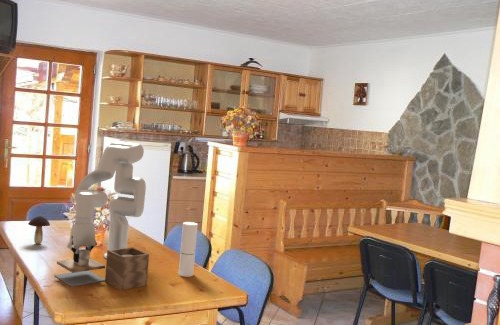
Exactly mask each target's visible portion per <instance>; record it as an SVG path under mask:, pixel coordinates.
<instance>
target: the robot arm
mask: <svg viewBox="0 0 500 325" xmlns="http://www.w3.org/2000/svg"><path fill="white" fill-rule="evenodd" d="M144 152H145V151H144V147H143V145H142V144H139V143H136V142H135V143H134V142H125V141H113V142H111V143H110V144H109V145H107V146H106V147H105V149H104V150H103V153H102V155H101V157H100V159H99V162H98V163H97V166H96V168H95V169H94V170H93V171H91V172H89V173H88V174H87V175H85V176H84V177H83V178H82V179H81V180H80V182H79V183H78V186H77V187H76V190H75V192H74V193H75V194H74V196H73V197H74V202H75V205H76V206H75V221H74V223H72V225H71V229H70V234H69V242H68V243H67V245H66V248H68V249H69V250H70V251H72V253H73V258H72V259H73V260H74V262H76V263H78V262H79V254H78V251H79V248H83V247H84V249H86V250H88V251H90V252H89V256H90V253H91V252H92V250H93V249H94V247H96V246H98V242H97V240H96V229H95V228H96V227H95V223H94V221H96V220H97V218H96V217H95V216H94V215H95V209H96V208H97V209H98V208H102V207H105V206H106V205H107V202H108V195H107V193H105V192H104V191H103V190H102V191H101V190H96V189H90V187H92V186H93V185H95V184H99V183H101V182H106V181H109V180H111V179H112V178H113V177H114V191H115V192H116V193H117V194H119V196H113V197H112V198H111V199H110V200H109V203H108V210H109V227H108V228H109V229H108V239H107V240H108V241H107V250H115V249H123V248H128V236H129V220H128V219H127V217H131V218H140V217H142V215H143V212H144V210H145V209H144V208H145V200H146V190H147V186H146V181H145V180H144V178H142V177H138V176H133V172H134V171H133V170H134V166H133V164H135V163H137V162H140V161H141V160H142V158H143V157H144V154H145V153H144ZM120 195H125V196H120ZM126 196H127V197H126ZM128 196H133V197H128ZM103 257H104V258H105V259H107V252H105V253H104V254H103Z"/></svg>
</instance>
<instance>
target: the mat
mask: <svg viewBox="0 0 500 325" xmlns="http://www.w3.org/2000/svg"><path fill="white" fill-rule="evenodd" d="M54 277H55V278H57V279H58V280H59V281H62V282H63V283H65V284H66V285H67V286H70V287H71V288H72V287H77V286H83V285H90V284H96V283H102V282H105V278H103V277H101V276H99V275H97V274H96V273H94V272H93V271H91V270H89V271H82V272H75V273H72V272H66V273H59V274H58V273H57V274H54Z"/></svg>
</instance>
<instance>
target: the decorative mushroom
mask: <svg viewBox="0 0 500 325" xmlns="http://www.w3.org/2000/svg"><path fill="white" fill-rule="evenodd" d="M28 225H29V226H31V227H35V232H34V236H33V237H34V238H33V241H34V243H35V244H36V245H38V244H42V243H43V239H44V237H43V236H44V234H43V232H44V231H43V227H49V226H51V224H50V221H49V220H48V219H47V218H45V217H44V216H36V217H33V218H32V219H30V220H29V221H28Z"/></svg>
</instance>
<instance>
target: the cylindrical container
mask: <svg viewBox="0 0 500 325" xmlns="http://www.w3.org/2000/svg"><path fill="white" fill-rule="evenodd" d="M198 226H199V225H198V223H197V222H193V221H185V222H184V221H183V222H182V229H181V230H182V231H181V238H180V239H181V241H180V251H179V252H180V253H179V260H178V261H179V262H178V263H179V265H178V276H180V277H186V278H187V277H193V276H194V272H195V271H194V270H195V259H196V258H195V256H196V247H197V236H198V228H199V227H198Z"/></svg>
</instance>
